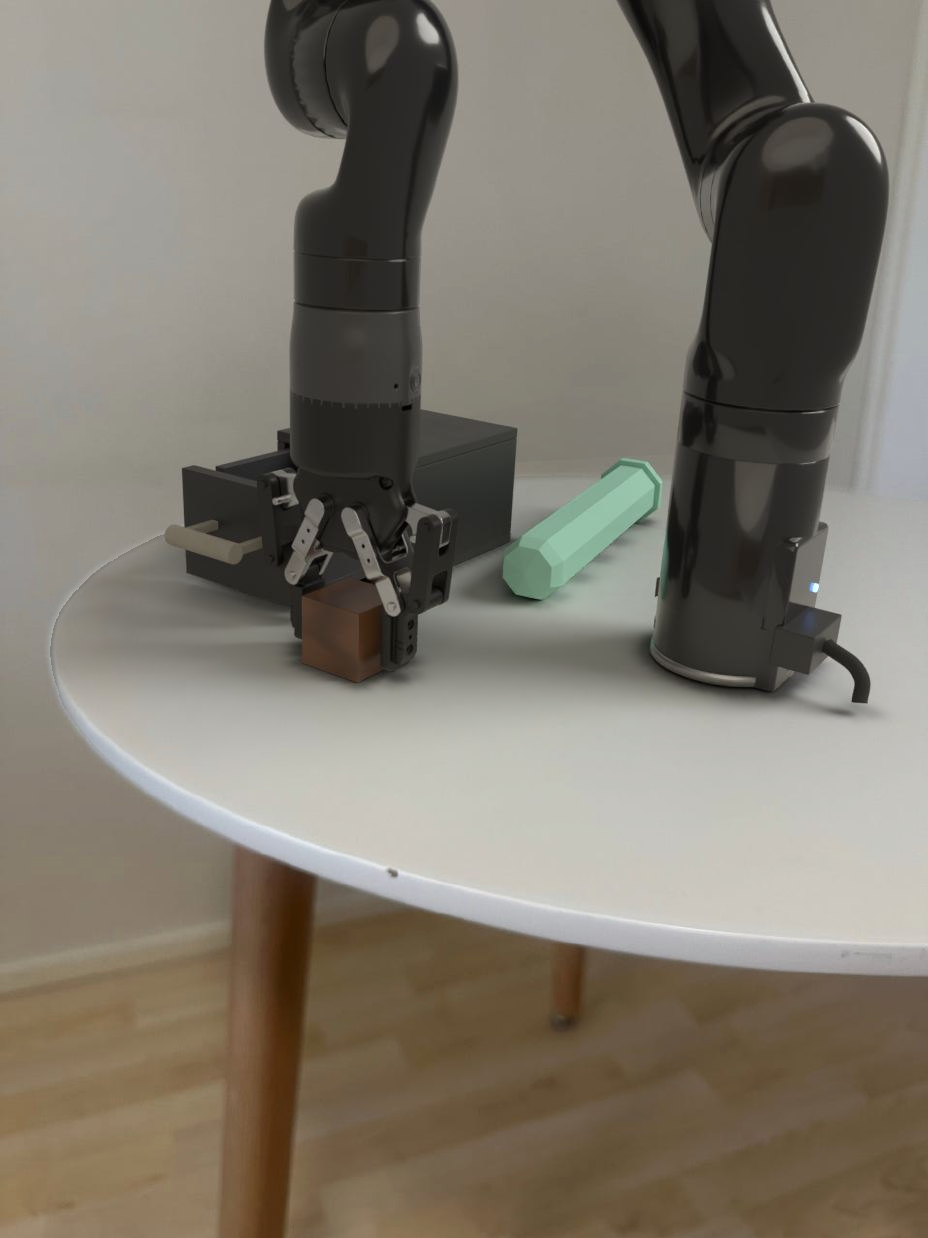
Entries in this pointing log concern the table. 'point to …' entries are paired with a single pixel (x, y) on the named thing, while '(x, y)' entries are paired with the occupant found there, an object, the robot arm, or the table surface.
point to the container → (581, 529)
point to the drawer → (240, 529)
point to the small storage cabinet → (463, 477)
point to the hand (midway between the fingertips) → (352, 650)
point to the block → (343, 629)
